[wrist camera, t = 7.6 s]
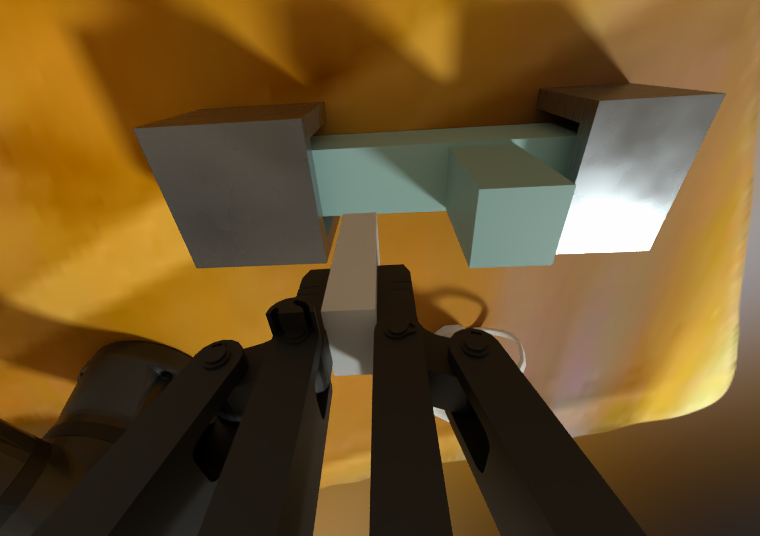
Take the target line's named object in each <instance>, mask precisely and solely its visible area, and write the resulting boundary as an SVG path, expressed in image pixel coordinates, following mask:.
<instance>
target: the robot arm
mask: <svg viewBox="0 0 760 536" xmlns="http://www.w3.org/2000/svg"><path fill="white" fill-rule="evenodd" d="M266 317H267V320H268V323H269V326H270V328H271V331H272V334H273V337H272V339H271V340H270V341H267V342H265V343H262V344H259V345H255V346H252V347H249V348H245V349H243V348H242V346H241V345H240V343H239V342H236V341H234V340H221V341H218V342H214V343H212V344H210V345H208V346H206V347H204V348H203V349H202V350H201V351H199V352H198V353H197V354H196V355H195V356H194V357H193V358H191V357H189V356H187V355H185V354H183V353H181V352H179V351H176V350H174V349H171V348H168V347H165V346H162V345H158V344H153V343H148V342H139V341H124V342H117V343H113V344H110V345H107V346H105V347H103V348H102V349H100V350H99V351H98V352H97V353H96V354H95V355H94V356H93V357H92V358H91V359H90V360H89V361H88V362H87V363H86V364H85V366H84V367H83V368H82V370H81V372H80V374H79V377H78V382H77V385H76V387H75V388H74V390H73V392H72V394H71V396H70V397H69V399H68V401H67V403H66V405H65V406H64V408H63V410H62V412H61V414H60V416H59V418H58V420H57V422H56V423H55V424H54V425H53V426H52V427H51V429H50V430H49V431H48V432H47V433H46V434H45V435H44V437H43V438H42V439H40V438H38V437H36V436H34V435H32V434H30V433H28V432H26V431H24V430H22V429H20V428H18V427H16V426H14V425H12V424H10V423H8V422H6V421H4V420H2V419H0V536H313V530H314V523H315V516H316V508H317V501H318V493H319V486H320V479H321V472H322V464H323V457H324V450H325V442H326V435H327V427H328V420H329V413H330V405H331V398H332V384H331V379H330V378H331V372H332V367H333V372H334V376H341V375H367V374H373V391H372V438H371V487H370V488H371V489H370V533H369V536H453V533H452V527H451V521H450V514H449V507H448V502H447V495H446V488H445V482H444V475H443V469H442V462H441V456H440V449H439V443H438V436H437V430H436V423H435V417H434V410H433V407H435V408H439V409H442V410H445V413H446V415H447V418H448V420H449V422H450V424H451V426H452V429H453V431H454V433H455V435H456V437H457V440H458V442H459V444H460V446H461V448H462V451H463V453H464V455H465V457H466V459H467V462H468V464H469V466H470V468H471V470H472V473H473V475H474V477H475V479H476V481H477V484H478V486H479V488H480V490H481V493H482V495H483V496H484V499H485V501H486V503H487V506H488V508H489V510H490V512H491V515H492V517H493V519H494V521H495V523H496V526H497V528H498V530H499V532H500V534H501V536H647V535H646V534H645V533H644V531H643V530H642V529H641V527H640V526H639V525H638V523H637V522H636V521H635V519H634V518H633V517H632V516H631V514H630V513H629V512H628V510H627V509H626V508H625V506H624V505H623V504H622V502H621V501H620V500H619V499H618V497H617V496H616V495H615V493H614V492H613V491H612V489H611V488H610V487H609V485H608V484H607V483H606V482H605V480H604V479H603V478H602V476H601V475H600V474H599V472H598V471H597V470H596V468H595V467H594V466H593V465H592V463H591V462H590V461H589V459H588V458H587V457H586V455H585V454H584V453H583V451H582V450H581V449H580V448H579V446H578V445H577V444H576V442H575V441H574V440H573V438H572V437H571V436H570V434H569V433H568V432H567V430H566V429H565V428H564V427H563V425H562V424H561V423H560V421H559V420H558V419H557V417H556V416H555V415H554V413H553V412H552V411H551V410H550V408H549V407H548V406H547V404H546V403H545V402H544V400H543V399H542V398H541V396H540V395H539V394H538V393H537V391H536V390H535V389H534V387H533V386H532V385H531V383H530V382H529V381H528V379H527V378H526V377H525V376H524V374H523V373H522V372H521V370H520V369H519V368H518V366H517V365H516V364H515V362H514V361H513V360H512V359H511V357H510V356H509V355H508V353H507V352H506V351H505V349H504V348H503V347H502V345H501V344H500V343H499V341H498V340H497V339H495V338H494V337H493V336H492V335H491V334H489V333H487V332H485V331H483V330H479V329H474V328H468V329H462V330H459V331H457V332H455V333H454V334H453V335H452V336H451V337H445V336H440V335H437V334H433V333H431V332H429V331H427V330H426V329H424V328H423V327H422V326H421V325H420V323H419V322H418V319H417V315H416V308H415V301H414V295H413V288H412V282H411V275H410V271H409V270H408V269H407V268H406V267H405V266H404V264H401V265H381V266H380V257H379V242H378V227H377V212H371V213H353V214H343V217H342V221H341V226H340V230H339V235H338V239H337V243H336V248H335V252H334V256H333V261H332V265H331V269H317V270H310V271H309V272H308V273H307V274H306V275H305V276H304V277H303V279H302V281H301V284H300V289H299V290H298V293H297V296H296V297H294V298H288V299H284V300H282V301H279V302H277V303H276V304H274V305H273V306H272V307H270V308H269V310H268V311H267V313H266Z"/></svg>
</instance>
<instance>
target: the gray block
mask: <svg viewBox="0 0 760 536" xmlns="http://www.w3.org/2000/svg"><path fill="white" fill-rule="evenodd" d="M325 121H326V116H325V109H324V102H316V103H299V104H283V105H267V106H250V107H234V108H218V109H201V110H196V111H193V112H189V113H186V114H182V115H179V116H175V117H172V118H168V119H165V120H161V121H158V122H154V123H151V124H147V125H144V126H140V127H137V128H133V131H134V133H135V135H136V137H137V139H138V142H139V144H140V146H141V148H142V150H143V152H144V155H145V157H146V159H147V161H148V163H149V165H150V168H151V170H152V172H153V174H154V176H155V179H156V181H157V183H158V185H159V187H160V189H161V192H162V194H163V196H164V198H165V200H166V202H167V205H168V207H169V209H170V211H171V213H172V216H173V218H174V220H175V222H176V224H177V226H178V229H179V231H180V233H181V235H182V237H183V239H184V242H185V244H186V246H187V248H188V250H189V253H190V255H191V257H192V259H193V261H194V263H195V266H196V268H215V267H241V266H266V265H292V264H317V263H327V260H328V257H329V253H330V250H331V246H332V243H333V239H334V236H335V232H336V229H337V225H338V222H339V218H340V217H339V216H323V213H322V208H321V202H320V196H319V190H318V184H317V178H316V172H315V166H314V161H313V155H312V149H311V143H310V137H311V136H312V135H313V134H314V133H315V132H316V131H317V130H318V129H319V128H320V127H321V126H322V124H323V123H324V122H325Z"/></svg>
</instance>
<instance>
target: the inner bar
mask: <svg viewBox="0 0 760 536" xmlns="http://www.w3.org/2000/svg"><path fill="white" fill-rule="evenodd" d="M577 132H578V127H575V126H572V125H570V124H567V123H533V124H516V125H498V126H481V127H463V128H445V129H428V130H410V131H393V132H375V133H357V134H340V135H322V136H311V137H310V143H311V149H312V155H313V161H314V166H315V172H316V178H317V184H318V190H319V196H320V202H321V208H322V213H323V216H343V214H353V213H371V212H377V214H386V213H408V212H430V211H447V213H448V216H449V218H450V221H451V223H452V226H453V228H454V231H455V233H456V236H457V238H458V241H459V243H460V246H461V248H462V251H463V253H464V256H465V258H466V261H467V263H468V266H469V268H485V267H511V266H537V265H553V261H554V258H555V255H556V251H557V248H558V245H559V241H560V238H561V235H562V231H563V228H564V225H565V221H566V218H567V215H568V211H569V208H570V205H571V201H572V198H573V195H574V191H575V188H576V184H575V183H573V182H572V181H570V180H569V179H567V178H566V177H565V176H566V172H567V168H568V165H569V161H570V157H571V154H572V150H573V147H574V143H575V139H576V136H577Z"/></svg>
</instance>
